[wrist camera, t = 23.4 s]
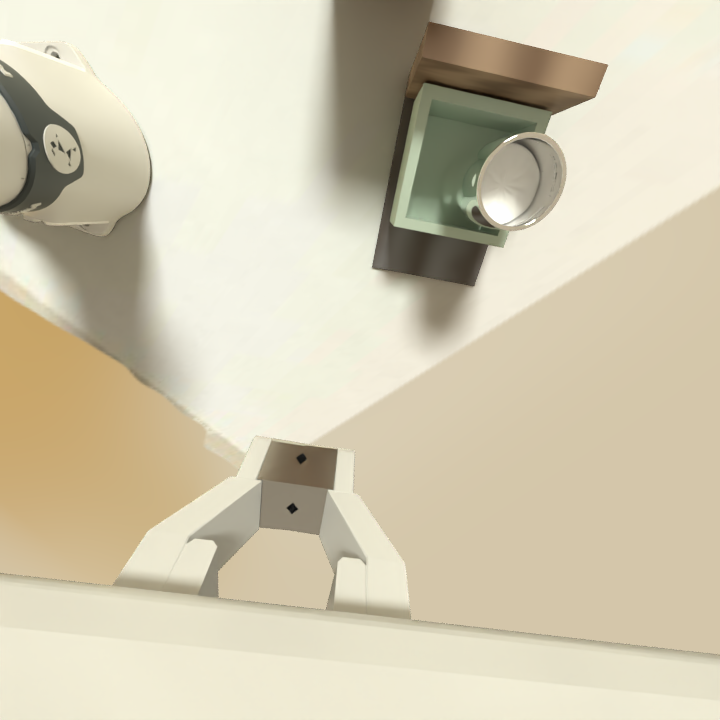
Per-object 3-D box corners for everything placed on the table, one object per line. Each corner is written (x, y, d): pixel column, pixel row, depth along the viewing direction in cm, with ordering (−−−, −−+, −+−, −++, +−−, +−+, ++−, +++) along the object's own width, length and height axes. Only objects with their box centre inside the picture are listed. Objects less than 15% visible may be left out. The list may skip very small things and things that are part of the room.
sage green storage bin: (389, 221, 41) (393, 226, 34) (413, 102, 35) (424, 82, 29) (482, 239, 42) (503, 247, 35) (520, 125, 36) (552, 111, 30)
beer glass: (480, 227, 40) (538, 245, 27) (427, 209, 39) (458, 217, 26) (508, 164, 37) (589, 147, 24) (451, 142, 36) (501, 113, 23)
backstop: (372, 266, 44) (374, 290, 33) (409, 74, 35) (429, 21, 24) (473, 285, 45) (507, 314, 34) (535, 103, 36) (608, 64, 25)
